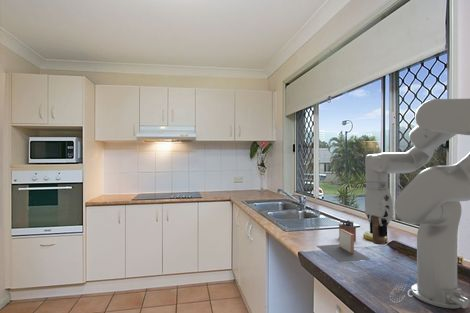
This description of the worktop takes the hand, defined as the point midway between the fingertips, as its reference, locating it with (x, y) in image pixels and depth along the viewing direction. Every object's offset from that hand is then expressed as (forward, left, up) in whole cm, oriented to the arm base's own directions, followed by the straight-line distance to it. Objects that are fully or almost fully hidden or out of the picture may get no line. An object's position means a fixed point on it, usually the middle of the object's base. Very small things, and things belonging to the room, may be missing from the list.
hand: (378, 234), depth 102 cm
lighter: (+31, -7, -12) cm, 34 cm away
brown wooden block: (0, 0, -3) cm, 3 cm away
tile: (+17, +3, -12) cm, 21 cm away
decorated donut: (+29, -21, -13) cm, 38 cm away
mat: (+15, +6, -12) cm, 20 cm away
